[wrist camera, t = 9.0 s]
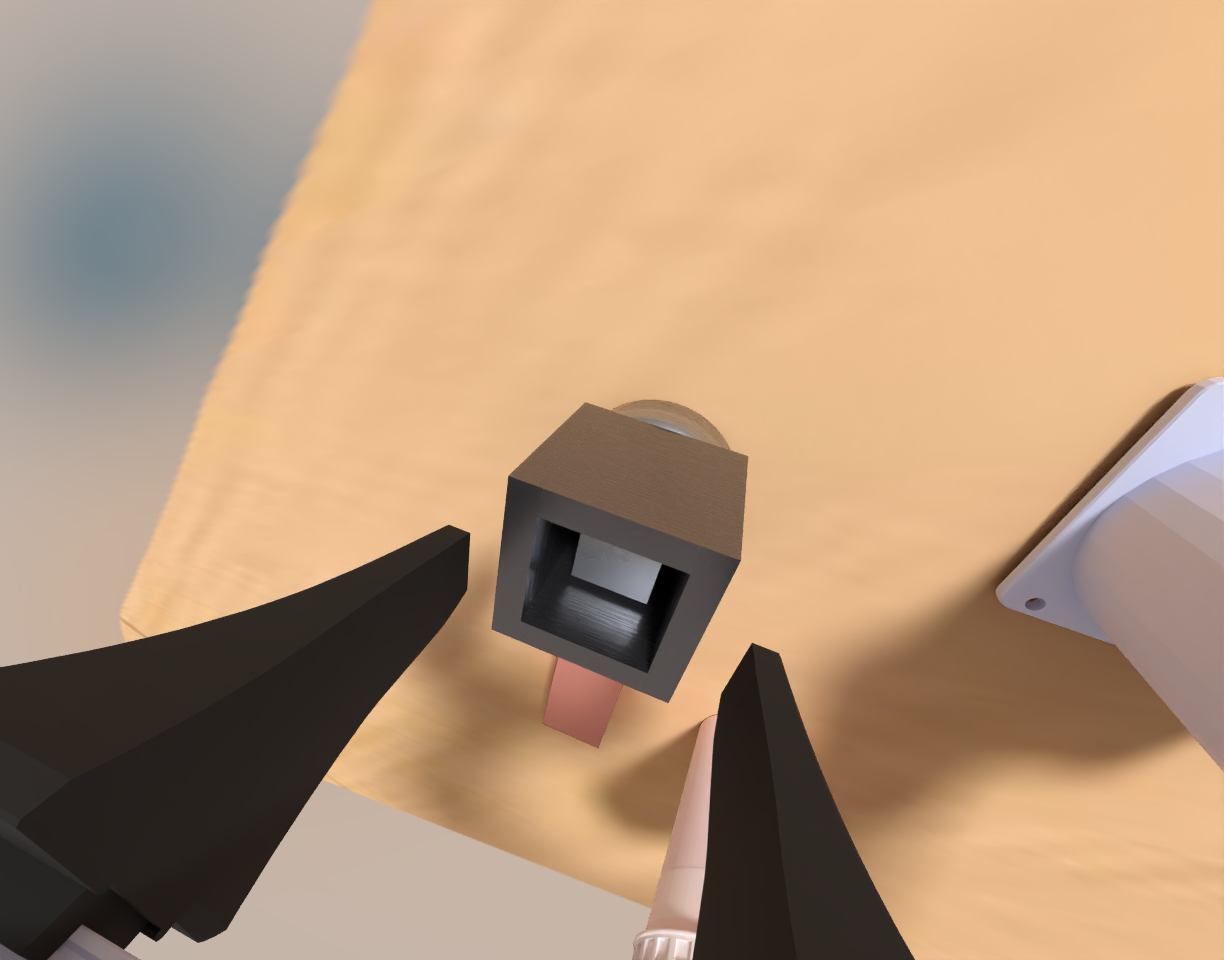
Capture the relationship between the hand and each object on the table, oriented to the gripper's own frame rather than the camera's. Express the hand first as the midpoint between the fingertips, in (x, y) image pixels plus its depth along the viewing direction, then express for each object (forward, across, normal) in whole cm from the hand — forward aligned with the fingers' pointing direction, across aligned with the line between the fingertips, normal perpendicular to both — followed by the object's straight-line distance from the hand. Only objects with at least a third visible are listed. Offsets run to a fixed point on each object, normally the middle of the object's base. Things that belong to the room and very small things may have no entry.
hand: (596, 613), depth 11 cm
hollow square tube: (+5, 0, 0) cm, 5 cm away
